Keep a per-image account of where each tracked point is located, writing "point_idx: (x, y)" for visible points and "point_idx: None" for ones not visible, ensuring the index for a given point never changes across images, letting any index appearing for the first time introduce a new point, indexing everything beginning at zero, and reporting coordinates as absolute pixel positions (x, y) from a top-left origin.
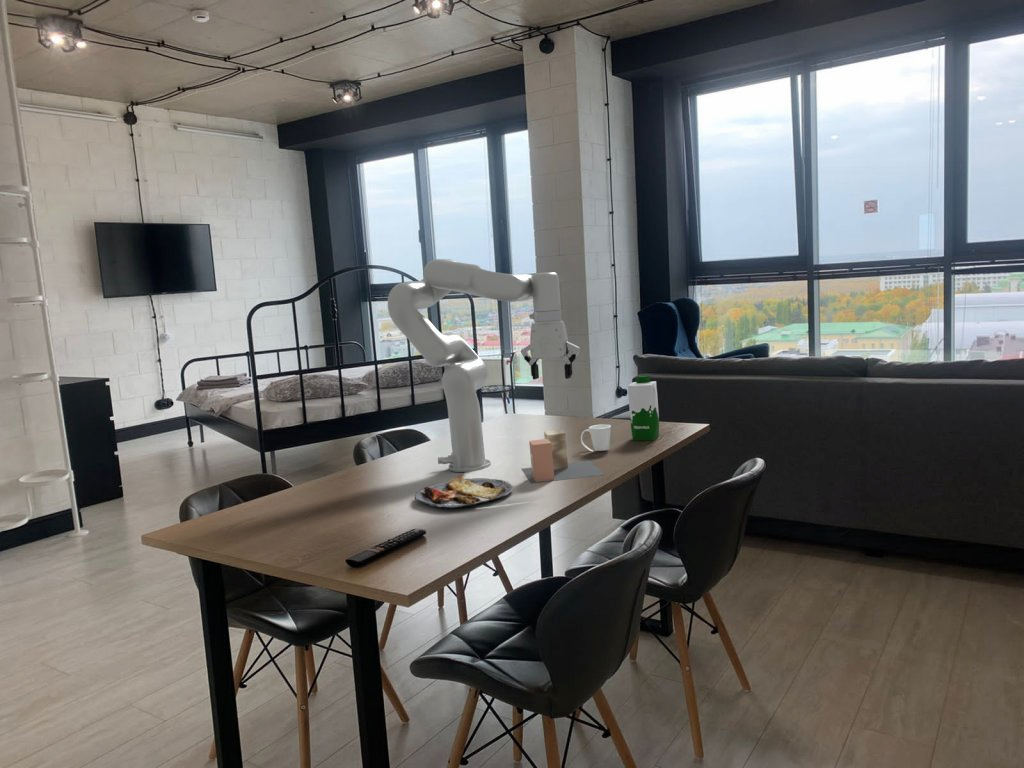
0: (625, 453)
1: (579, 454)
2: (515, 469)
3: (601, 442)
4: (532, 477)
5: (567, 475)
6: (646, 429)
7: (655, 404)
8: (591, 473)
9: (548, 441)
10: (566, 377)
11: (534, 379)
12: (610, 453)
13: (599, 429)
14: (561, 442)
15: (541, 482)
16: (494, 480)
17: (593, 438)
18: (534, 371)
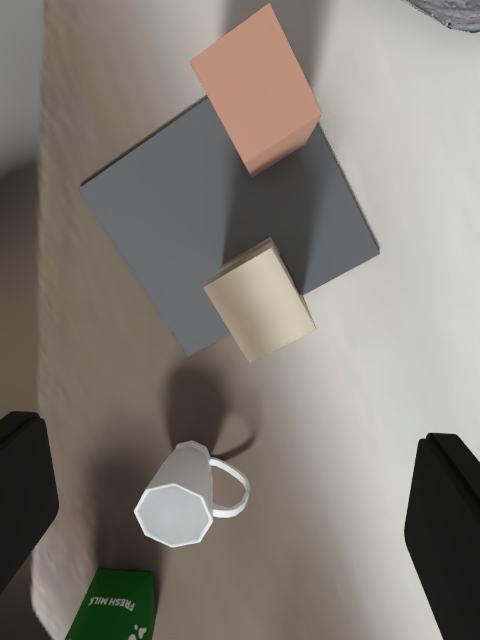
0: (121, 445)
1: (250, 440)
2: (403, 262)
3: (173, 459)
4: None
5: (191, 170)
6: (99, 594)
7: None
8: (124, 200)
9: (216, 98)
10: (19, 415)
11: (431, 436)
12: (163, 447)
13: (162, 484)
14: (224, 271)
15: None
16: (420, 9)
17: (196, 470)
18: (473, 508)
